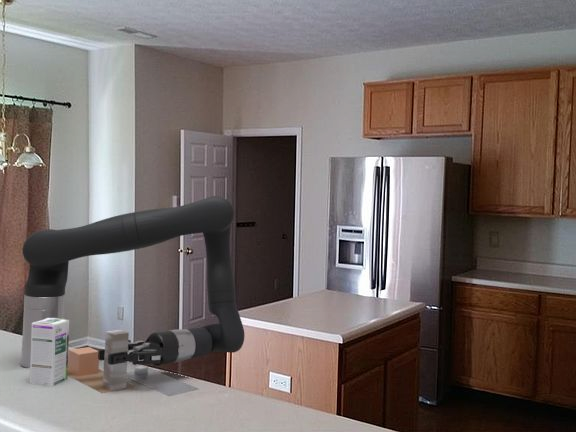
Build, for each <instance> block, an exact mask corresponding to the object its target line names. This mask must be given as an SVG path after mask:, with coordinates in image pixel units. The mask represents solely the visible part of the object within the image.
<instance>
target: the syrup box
mask: <svg viewBox="0 0 576 432" xmlns="http://www.w3.org/2000/svg"><path fill="white" fill-rule="evenodd" d="M69 340H70V319H66V318H64V319H61V318H46V319H44V320H40V321H37V322H33V323H32V329H31V360H30V368H29V370H30V371H29V384H32V385H33V384H34V385H42V386H48V387H53V386H56V385H57V384H60V383H62V382H65V381H66V380H68V378H69V376H68V356H69V347H70V345H69V342H70V341H69Z"/></svg>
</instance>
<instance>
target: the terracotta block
mask: <svg viewBox="0 0 576 432" xmlns="http://www.w3.org/2000/svg"><path fill="white" fill-rule="evenodd" d="M98 351H99V350H97V349H95V348H92V347H90V346H86V347H81V348H80V347H79V348H71V349H68V372H70V373H72V374H74V375H76V376H83V375H89V374H94V373H98V369H99V370H100V367H99V366H100V360H99V359H98Z"/></svg>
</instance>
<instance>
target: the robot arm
mask: <svg viewBox="0 0 576 432" xmlns="http://www.w3.org/2000/svg"><path fill="white" fill-rule="evenodd" d="M234 219H235V209H234V206H233V204H232V203H231V202H230V201H229V200H228V199H226V198H225V197H223V196H220V195H218V196H217V195H213V196H209V197H207V198H206V197H205V198H203V199H201V200H197V201H194V202H190V203H186V204H182V205H179V206H174V207H173V206H172V207H165V208H163V207H162V208H155V209H145V210H141V211H135V212H128V213H123V214H120V215H116V216H115V215H114V216H111V217H108V218H104V219H100V220H98V221H95V222H91V223H88V224H85V225H82V226H77V227H72V228H64V229H52V228H51V229H49V228H48V229H47V228H46V229H43V230H37V231H35V232H33V233H32V234H30V235H29V236H28V237H27V238H26V239H25V241H24V242H23V246H22V251H21V252H22V256H23V258H24V260H25V261H26V262H27V263H28V264H29V269H28V276H27V280H26V282H25V284H24V295H23V297H24V299H23V323H22V343H21V344H22V345H21V360H20V361H21V362H20V364H21V367H23V368H27V369H28V368H29V369H30V360H31V329H32V323H33V322H37V321H40V320H44V319H46V318H61V319H65V318H64V317H65V300H66V299H65V296H66V286H67V282H68V278H69V277H68V275H69V264H70V263H69V262H70V261H73V260H76V259H80V258H83V257H89V256H96V255H97V256H101V255H110V254H118V253H124V252H130V251H134V250H139V249H144V248H148V247H152V246H155V245H159V244H161V243H165V242H167V241H170V240H172V239H175V238H178V237H181V236H182V237H183V236H186V235H187V236H188V235H195V234H202V236H203V239H204V244H205V253H206V289H207V303H208V305H207V306H208V310H209V312H210V314H211V315H214V316H216V317H217V319H218V322H219V323H213V324H207V325H203V326H200V327H191V328H185V329H182V328H181V329H180V328H179V329H172V330H171V329H168V330H163V331H157V332H156V331H155V332H152V333H150V334H149V335H148V337H147V339H146V340H145V341H144V340H136V341H133V342H131V341H132V340H131V339H128V351H126V353H125V352H119V353H112V354H109V355H108V364H110V365H113V364H119V363H127V365H128V364H132V365H133V366H141V365H153V366H163V365H169V364H174V363H179V362H184V361H186V360H189V359H195V358H200V357H203V356H205V355H208V354H209V353H211V352H220V353H221V352H222V353H230V354H232V353H236V352H238V351H240V350H241V349H242V347H243V345H244V341H245V329H244V325H243V322H242V319H241V316H240V313H239V310H238V308H237V300H236V287H235V286H236V285H235V277H234V269H233V265H232V257H231V244H230V243H231V242H230V241H231V228H232V227H231V226H232V224H233V221H234ZM97 351H98V359H99V361H100V362H101V361H104V356H105V348H104V349H99V350H97Z"/></svg>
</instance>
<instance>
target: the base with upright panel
mask: <svg viewBox="0 0 576 432" xmlns="http://www.w3.org/2000/svg"><path fill="white" fill-rule="evenodd" d="M104 335H105V338H104V340H105V341H104V349H105V356H104V360H103V370H101V369H100V368H99V369H98V373H94V374H89V375H83V376H76V375H74V374H72V373H70V372H68V378H72V379H73V380H76V381H78V382H79V383H82V384H83V385H85V386H87V387H89V388H91V389H93V390H95V391H97V392H98V393H101V394H106V393H110V392H115V391H118V390H125V389H129V388H134V387H136V385H134V384H132V383H129V381H128V382H127V377H126V375H127V372H128V370H127V368H128V364H127V363H119V364H113V365H110V364H108V355H109V354H112V353H119V352H125V353H126V351H128V340H129V337H130V336H129V332H128V331H125V330H121V329H117V330H116V329H115V330H109V331H108V330H107V331H105V334H104Z"/></svg>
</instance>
